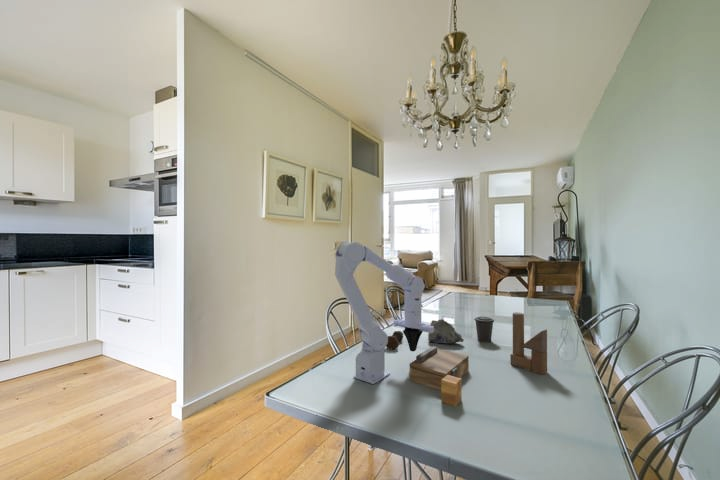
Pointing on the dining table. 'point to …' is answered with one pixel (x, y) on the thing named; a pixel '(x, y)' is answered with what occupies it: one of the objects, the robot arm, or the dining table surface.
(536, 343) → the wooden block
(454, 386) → the brown block
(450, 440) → the dining table surface
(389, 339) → the bolt
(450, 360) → the lid
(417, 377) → the brown wooden open box
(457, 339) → the mineral rock
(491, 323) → the coffee cup
